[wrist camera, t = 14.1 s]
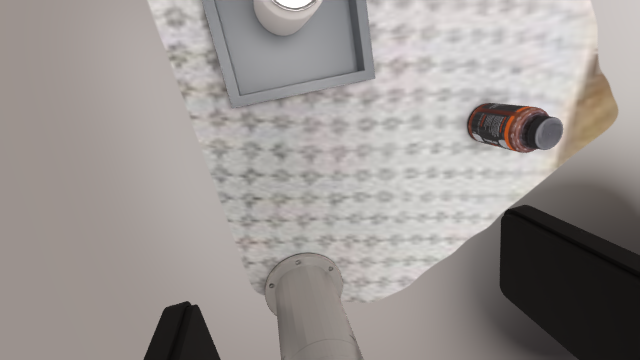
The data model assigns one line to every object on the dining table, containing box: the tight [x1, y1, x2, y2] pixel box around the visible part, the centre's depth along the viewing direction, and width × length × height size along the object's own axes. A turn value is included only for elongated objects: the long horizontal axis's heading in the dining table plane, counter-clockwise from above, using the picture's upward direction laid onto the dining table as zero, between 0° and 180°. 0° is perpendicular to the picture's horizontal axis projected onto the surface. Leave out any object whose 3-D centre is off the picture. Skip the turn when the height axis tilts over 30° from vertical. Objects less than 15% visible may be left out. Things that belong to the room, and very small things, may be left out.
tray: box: [202, 0, 375, 108], centre depth 35 cm, size 20×18×4 cm
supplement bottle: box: [468, 103, 563, 153], centre depth 42 cm, size 6×6×11 cm
